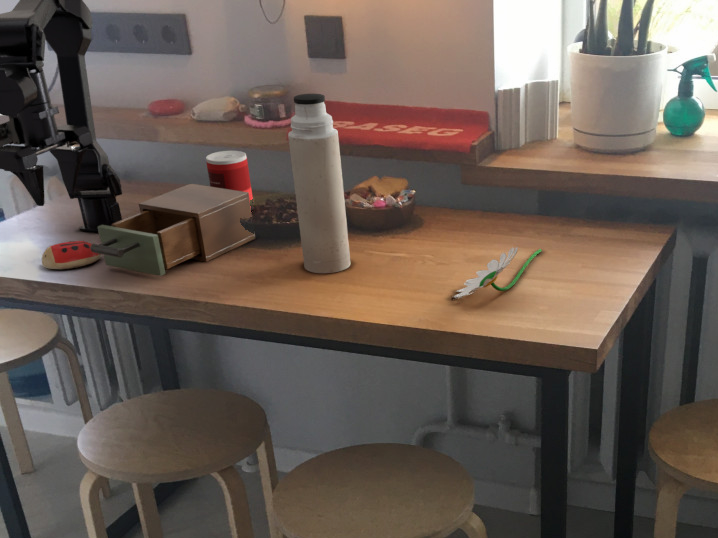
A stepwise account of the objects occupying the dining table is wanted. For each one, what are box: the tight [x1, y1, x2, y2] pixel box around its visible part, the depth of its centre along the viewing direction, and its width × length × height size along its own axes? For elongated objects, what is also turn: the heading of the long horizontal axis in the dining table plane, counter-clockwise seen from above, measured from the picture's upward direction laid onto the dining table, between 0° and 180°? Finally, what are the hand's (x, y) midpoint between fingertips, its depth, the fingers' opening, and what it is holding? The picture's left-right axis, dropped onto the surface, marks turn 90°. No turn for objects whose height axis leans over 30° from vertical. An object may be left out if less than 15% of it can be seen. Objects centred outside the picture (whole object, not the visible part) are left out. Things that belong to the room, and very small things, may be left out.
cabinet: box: [138, 183, 256, 263], centre depth 183 cm, size 14×14×9 cm
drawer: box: [90, 210, 202, 277], centre depth 173 cm, size 18×12×7 cm
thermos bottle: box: [288, 93, 351, 274], centre depth 168 cm, size 8×8×28 cm
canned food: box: [205, 150, 254, 200], centre depth 199 cm, size 8×8×11 cm
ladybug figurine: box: [41, 240, 102, 270], centre depth 177 cm, size 7×10×4 cm
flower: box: [452, 246, 542, 302], centre depth 167 cm, size 13×6×30 cm
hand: (56, 198), depth 171 cm, fingers open, 8 cm apart
